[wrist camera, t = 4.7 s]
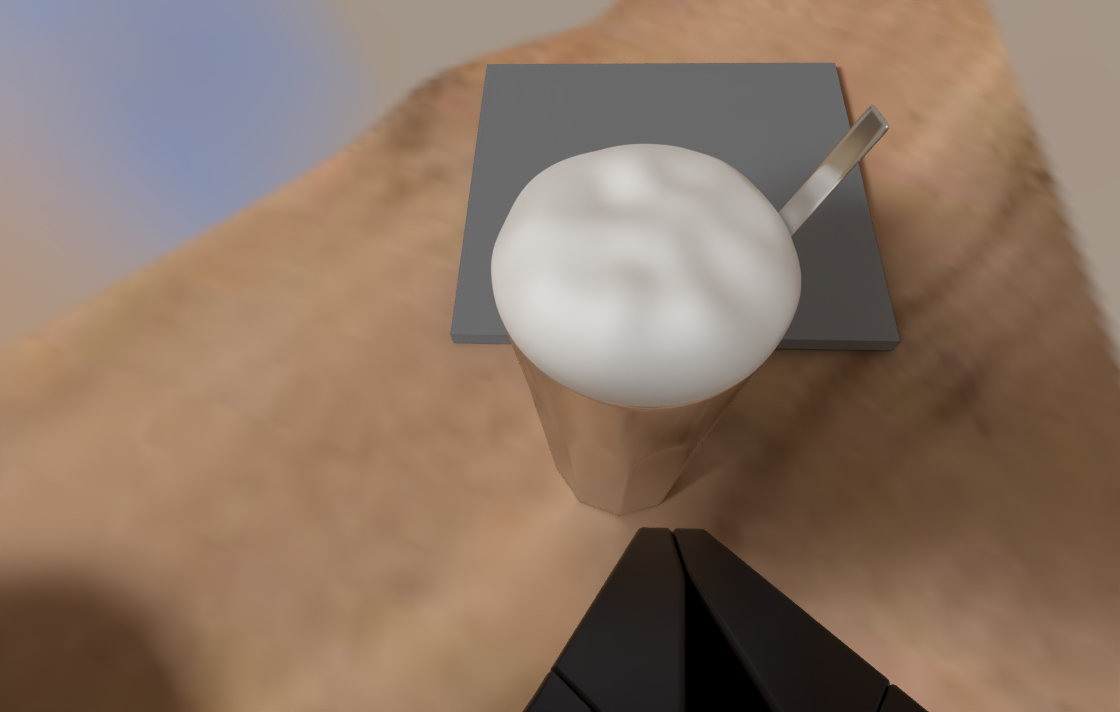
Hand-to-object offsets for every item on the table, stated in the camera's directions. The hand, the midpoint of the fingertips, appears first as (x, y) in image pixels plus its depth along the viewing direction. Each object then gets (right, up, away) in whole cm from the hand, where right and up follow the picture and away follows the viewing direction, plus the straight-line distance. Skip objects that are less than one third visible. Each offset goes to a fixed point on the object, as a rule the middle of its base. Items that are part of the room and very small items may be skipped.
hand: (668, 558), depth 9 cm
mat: (+2, +8, +12) cm, 15 cm away
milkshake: (+1, 0, +9) cm, 9 cm away
